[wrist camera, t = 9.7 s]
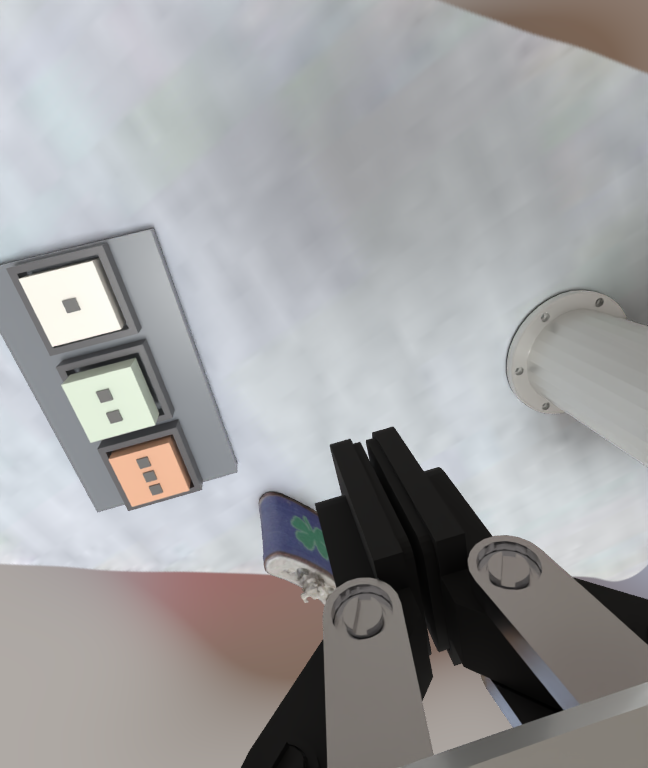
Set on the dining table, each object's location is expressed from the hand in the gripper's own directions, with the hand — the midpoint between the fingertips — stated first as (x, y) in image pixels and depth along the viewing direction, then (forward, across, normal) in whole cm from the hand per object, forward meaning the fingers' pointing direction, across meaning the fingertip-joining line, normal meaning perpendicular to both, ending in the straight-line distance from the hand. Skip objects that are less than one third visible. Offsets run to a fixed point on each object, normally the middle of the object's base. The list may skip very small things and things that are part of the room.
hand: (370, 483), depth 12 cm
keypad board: (+29, +15, +5) cm, 33 cm away
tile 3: (+27, +15, +12) cm, 33 cm away
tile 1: (+27, +15, -3) cm, 31 cm away
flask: (+29, +4, +24) cm, 38 cm away
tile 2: (+26, +15, +5) cm, 30 cm away
